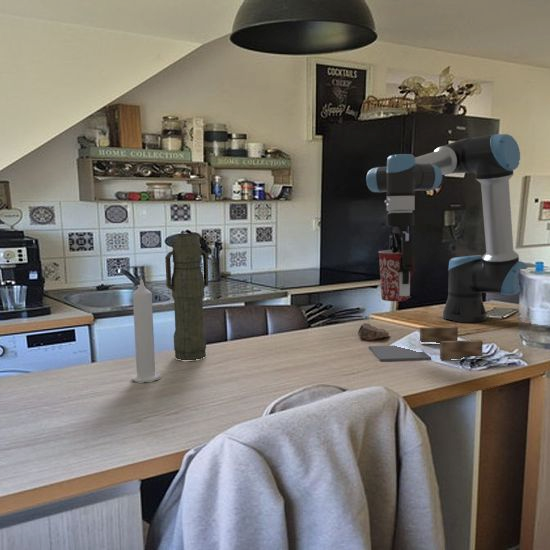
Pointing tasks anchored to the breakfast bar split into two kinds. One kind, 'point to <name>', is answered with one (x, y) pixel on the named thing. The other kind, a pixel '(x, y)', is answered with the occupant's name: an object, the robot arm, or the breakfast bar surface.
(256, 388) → the breakfast bar surface
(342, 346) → the breakfast bar surface
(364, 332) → the rock
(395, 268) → the mug
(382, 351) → the coaster
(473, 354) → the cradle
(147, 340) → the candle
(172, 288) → the thermos
